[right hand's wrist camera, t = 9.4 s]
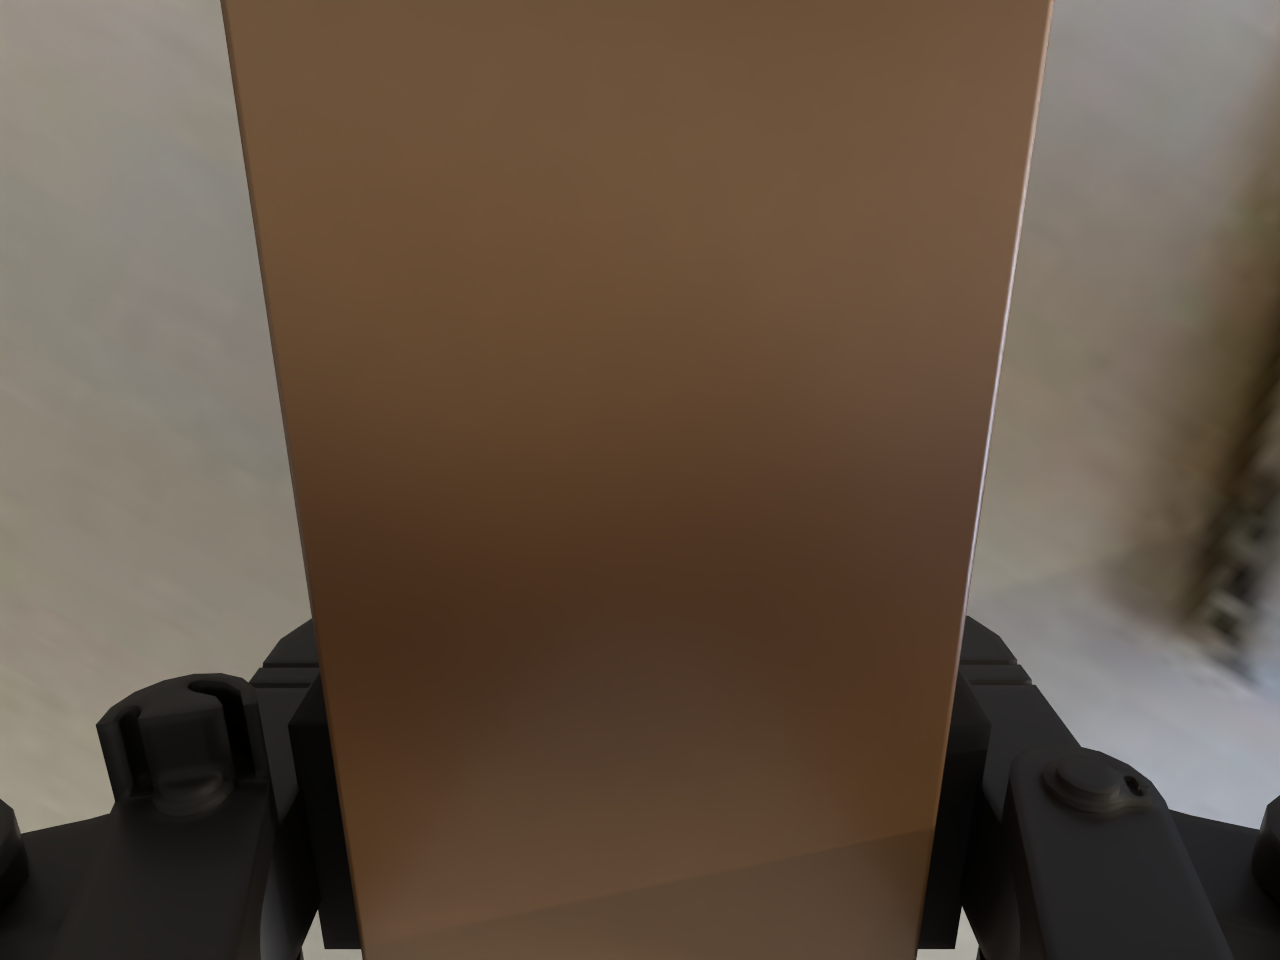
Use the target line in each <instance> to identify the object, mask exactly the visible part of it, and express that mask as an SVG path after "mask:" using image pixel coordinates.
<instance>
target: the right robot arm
mask: <svg viewBox="0 0 1280 960" xmlns="http://www.w3.org/2000/svg"><path fill="white" fill-rule="evenodd" d="M96 728H97V732H98V736H99V740H100V744H101V748H102V751H103V755H104V759H105V763H106V767H107V771H108V775H109V779H110V783H111V787H112V790H113V794H114V798H115V803H114V806H113V808H112V810H111V813H110V814H106V815H102V816H99V817H95V818H92V819H88V820H83V821H78V822H74V823H69V824H64V825H60V826H55V827H50V828H46V829H41V830H36V831H31V832H27V833H22V834H21V833H20V830H19V826H18V823H17V820H16V817H15V813H14V810H13V809H12V808H11V807H10V806H8V805H7V804H6V803H5V802H3V801H2V800H1V799H0V960H304V958H303V952H302V945H303V943H304V940H305V938H306V936H307V933H308V931H309V929H310V926H311V924H312V921H313V919H314V917H315V914H316V912H317V910H318V911H319V918H320V924H321V930H322V936H323V942H324V948H325V949H361V944H360V937H359V930H358V924H357V917H356V910H355V903H354V897H353V890H352V883H351V877H350V870H349V863H348V856H347V850H346V843H345V836H344V829H343V823H342V816H341V809H340V802H339V796H338V789H337V782H336V776H335V769H334V762H333V755H332V749H331V742H330V735H329V728H328V722H327V715H326V708H325V702H324V695H323V688H322V681H321V675H320V668H319V661H318V654H317V648H316V641H315V634H314V627H313V621H312V619H310V620H309V621H307V622H306V623H304V624H303V625H301V626H300V627H298V628H297V629H295V630H294V631H292V632H291V633H289V634H288V635H286V636H285V637H283V638H282V639H280V641H279V642H278V643H277V645H276V646H275V647H274V649H273V650H272V651H271V653H270V654H269V656H268V657H267V658H266V660H265V661H264V662H263V668H259V669H258V671H257V672H256V673H255V675H254V676H253V677H252V679H251V680H250V681H249V683H248V682H247V681H246V680H244V679H243V678H240V677H236V676H231V675H227V674H223V673H209V674H191V675H187V676H182V677H177V678H173V679H168V680H164V681H161V682H159V683H156V684H154V685H151V686H149V687H146V688H144V689H141V690H139V691H136V692H134V693H132V694H131V695H129V696H128V697H126V698H125V699H123V700H122V701H120V702H119V703H117V704H115V705H114V706H112V707H111V708H110V709H109V710H108V711H107V712H106V714H105V715H104V716H103V717H102V718H101V719H100V721H99V722H98V723H97V724H96ZM962 907H963V909H964V911H965V914H966V916H967V918H968V921H969V923H970V925H971V928H972V930H973V932H974V935H975V937H976V939H977V942H978V944H979V947H978V952H977V958H976V960H1280V795H1279V796H1278V797H1277V798H1276V799H1274V800H1273V801H1272V802H1271V803H1270V804H1268V805H1267V808H1266V811H1265V814H1264V817H1263V821H1262V824H1261V827H1260V830H1257V829H1253V828H1248V827H1243V826H1238V825H1234V824H1229V823H1224V822H1220V821H1215V820H1210V819H1205V818H1201V817H1196V816H1191V815H1188V814H1184V813H1181V812H1177V811H1173V810H1170V809H1168V806H1167V804H1166V802H1165V800H1164V799H1163V797H1162V796H1161V794H1160V793H1159V792H1158V790H1157V789H1156V788H1155V786H1154V785H1153V783H1152V782H1151V781H1150V780H1148V779H1147V778H1146V777H1144V776H1143V775H1142V774H1140V773H1139V772H1138V771H1136V770H1135V769H1134V768H1132V767H1131V766H1130V765H1128V764H1126V763H1124V762H1122V761H1120V760H1117V759H1115V758H1113V757H1111V756H1109V755H1107V754H1104V753H1102V752H1100V751H1095V750H1091V749H1087V748H1083V747H1081V746H1080V745H1079V743H1078V742H1077V741H1076V739H1075V738H1074V737H1073V735H1072V734H1071V732H1070V731H1069V730H1068V728H1067V727H1066V726H1065V724H1064V723H1063V722H1062V720H1061V719H1060V718H1059V716H1058V715H1057V714H1056V712H1055V711H1054V709H1053V708H1052V707H1051V705H1050V704H1049V703H1048V701H1047V700H1046V699H1045V697H1044V696H1043V695H1042V693H1041V692H1040V691H1039V689H1038V688H1037V686H1036V685H1032V680H1031V678H1030V677H1029V676H1028V674H1027V673H1026V672H1025V670H1024V669H1023V668H1022V666H1021V665H1017V659H1016V658H1015V657H1014V655H1013V654H1012V653H1011V651H1010V650H1009V649H1008V647H1007V646H1006V644H1005V643H1004V642H1003V640H1002V639H1001V638H1000V636H998V635H997V634H995V633H994V632H992V631H991V630H989V629H988V628H986V627H985V626H983V625H982V624H980V623H979V622H977V621H976V620H974V619H973V618H971V617H970V616H966V618H965V625H964V632H963V638H962V645H961V652H960V659H959V666H958V673H957V680H956V687H955V694H954V701H953V708H952V715H951V722H950V729H949V736H948V742H947V749H946V756H945V763H944V770H943V777H942V784H941V791H940V798H939V805H938V812H937V819H936V826H935V833H934V840H933V846H932V853H931V860H930V867H929V874H928V881H927V888H926V895H925V902H924V909H923V916H922V923H921V930H920V937H919V944H918V949H955V944H956V938H957V932H958V926H959V920H960V914H961V908H962Z"/></svg>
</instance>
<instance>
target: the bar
mask: <svg viewBox="0 0 1280 960" xmlns="http://www.w3.org/2000/svg"><path fill="white" fill-rule="evenodd" d="M220 1H221V8H222V15H223V22H224V28H225V35H226V42H227V48H228V55H229V62H230V69H231V75H232V82H233V89H234V96H235V102H236V109H237V116H238V123H239V129H240V136H241V143H242V149H243V156H244V163H245V170H246V176H247V183H248V190H249V197H250V203H251V210H252V217H253V223H254V230H255V237H256V244H257V250H258V257H259V264H260V271H261V277H262V284H263V291H264V298H265V304H266V311H267V318H268V324H269V331H270V338H271V345H272V351H273V358H274V365H275V372H276V378H277V385H278V392H279V399H280V405H281V412H282V419H283V425H284V432H285V439H286V446H287V452H288V459H289V466H290V473H291V479H292V486H293V493H294V500H295V506H296V513H297V520H298V526H299V533H300V540H301V547H302V553H303V560H304V567H305V574H306V580H307V587H308V594H309V601H310V607H311V614H312V621H313V627H314V634H315V641H316V648H317V654H318V661H319V668H320V675H321V681H322V688H323V695H324V702H325V708H326V715H327V722H328V728H329V735H330V742H331V749H332V755H333V762H334V769H335V776H336V782H337V789H338V796H339V802H340V809H341V816H342V823H343V829H344V836H345V843H346V850H347V856H348V863H349V870H350V877H351V883H352V890H353V897H354V903H355V910H356V917H357V924H358V930H359V937H360V944H361V951H362V957H363V960H916V957H917V951H918V944H919V937H920V930H921V923H922V916H923V909H924V902H925V895H926V888H927V881H928V874H929V867H930V860H931V853H932V846H933V840H934V833H935V826H936V819H937V812H938V805H939V798H940V791H941V784H942V777H943V770H944V763H945V756H946V749H947V742H948V736H949V729H950V722H951V715H952V708H953V701H954V694H955V687H956V680H957V673H958V666H959V659H960V652H961V645H962V638H963V632H964V625H965V618H966V611H967V604H968V597H969V590H970V583H971V576H972V569H973V562H974V555H975V548H976V541H977V534H978V528H979V521H980V514H981V507H982V500H983V493H984V486H985V479H986V472H987V465H988V458H989V451H990V444H991V437H992V430H993V423H994V417H995V410H996V403H997V396H998V389H999V382H1000V375H1001V368H1002V361H1003V354H1004V347H1005V340H1006V333H1007V326H1008V319H1009V313H1010V306H1011V299H1012V292H1013V285H1014V278H1015V271H1016V264H1017V257H1018V250H1019V243H1020V236H1021V229H1022V222H1023V215H1024V209H1025V202H1026V195H1027V188H1028V181H1029V174H1030V167H1031V160H1032V153H1033V146H1034V139H1035V132H1036V125H1037V118H1038V111H1039V105H1040V98H1041V91H1042V84H1043V77H1044V70H1045V63H1046V56H1047V49H1048V42H1049V35H1050V28H1051V21H1052V14H1053V7H1054V0H220Z"/></svg>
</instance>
